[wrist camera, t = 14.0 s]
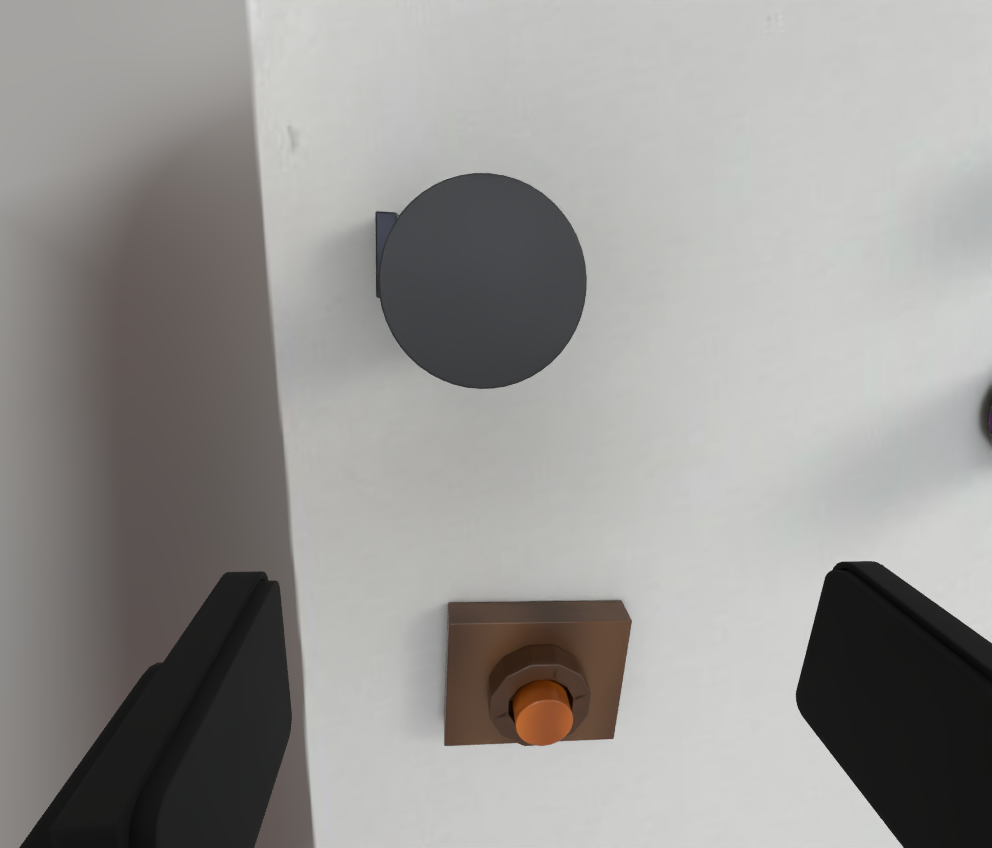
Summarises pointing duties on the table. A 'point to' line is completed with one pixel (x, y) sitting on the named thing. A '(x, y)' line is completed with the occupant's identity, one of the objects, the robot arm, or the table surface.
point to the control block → (532, 665)
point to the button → (542, 712)
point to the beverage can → (990, 421)
